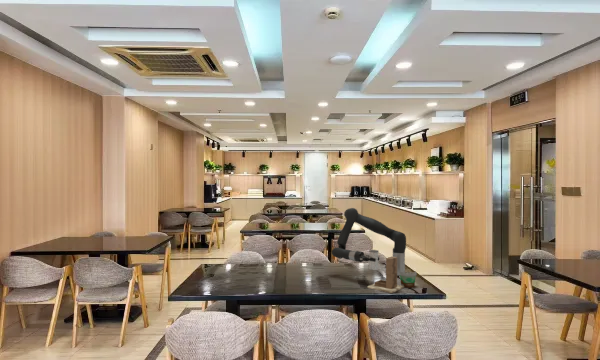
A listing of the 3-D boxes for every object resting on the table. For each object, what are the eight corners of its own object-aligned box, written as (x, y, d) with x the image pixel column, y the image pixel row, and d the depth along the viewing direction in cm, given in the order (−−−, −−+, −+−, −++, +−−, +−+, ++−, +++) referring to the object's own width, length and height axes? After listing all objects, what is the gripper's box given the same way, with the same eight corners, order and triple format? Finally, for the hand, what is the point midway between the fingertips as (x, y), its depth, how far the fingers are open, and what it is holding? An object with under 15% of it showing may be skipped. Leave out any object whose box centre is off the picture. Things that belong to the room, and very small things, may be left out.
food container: (403, 288, 255) (403, 273, 255) (399, 286, 261) (399, 271, 261) (419, 287, 258) (420, 273, 258) (415, 285, 264) (415, 271, 264)
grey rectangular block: (372, 267, 269) (372, 249, 269) (378, 268, 266) (378, 250, 266) (369, 269, 265) (369, 250, 265) (374, 270, 262) (375, 251, 262)
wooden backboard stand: (380, 282, 270) (380, 253, 270) (404, 287, 258) (404, 256, 258) (367, 287, 256) (367, 256, 256) (391, 293, 244) (391, 260, 244)
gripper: (351, 252, 270) (372, 255, 258) (362, 249, 280) (382, 252, 269) (351, 262, 270) (371, 266, 258) (361, 259, 280) (382, 263, 269)
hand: (377, 259), depth 264 cm, fingers closed on grey rectangular block, 4 cm apart
